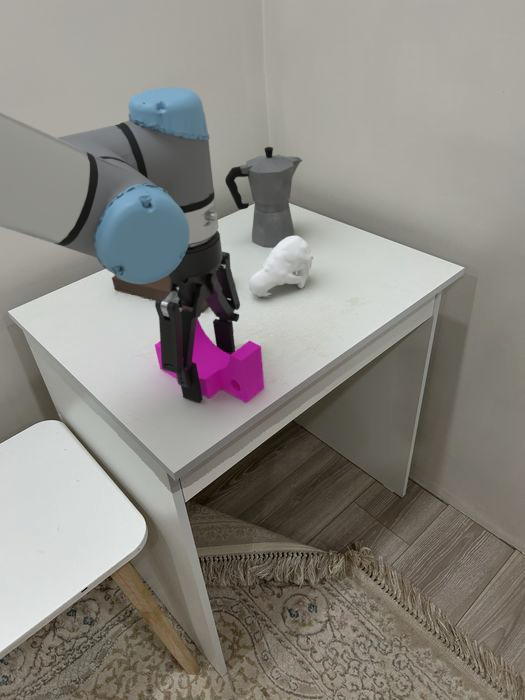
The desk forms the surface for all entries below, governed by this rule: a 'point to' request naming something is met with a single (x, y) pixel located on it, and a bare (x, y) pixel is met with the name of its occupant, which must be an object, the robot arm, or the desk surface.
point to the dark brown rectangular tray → (148, 289)
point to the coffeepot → (267, 195)
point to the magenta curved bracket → (225, 367)
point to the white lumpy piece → (283, 266)
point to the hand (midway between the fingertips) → (210, 376)
